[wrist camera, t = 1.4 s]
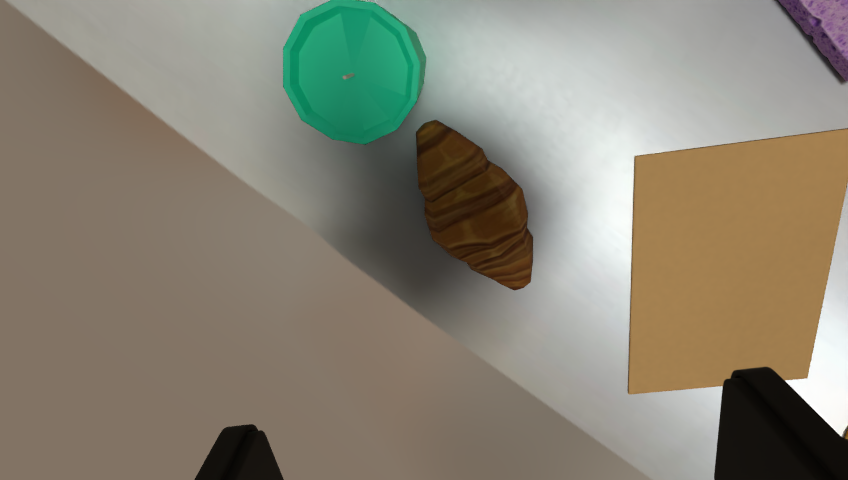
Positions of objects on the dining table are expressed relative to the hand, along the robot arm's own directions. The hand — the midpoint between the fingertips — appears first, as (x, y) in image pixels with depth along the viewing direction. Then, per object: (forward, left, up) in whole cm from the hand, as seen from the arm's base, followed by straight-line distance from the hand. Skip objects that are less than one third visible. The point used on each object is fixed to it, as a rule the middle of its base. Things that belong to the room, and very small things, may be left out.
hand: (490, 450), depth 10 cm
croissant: (+3, +1, -25) cm, 25 cm away
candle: (-7, -4, -25) cm, 26 cm away
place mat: (+11, +19, -24) cm, 33 cm away
